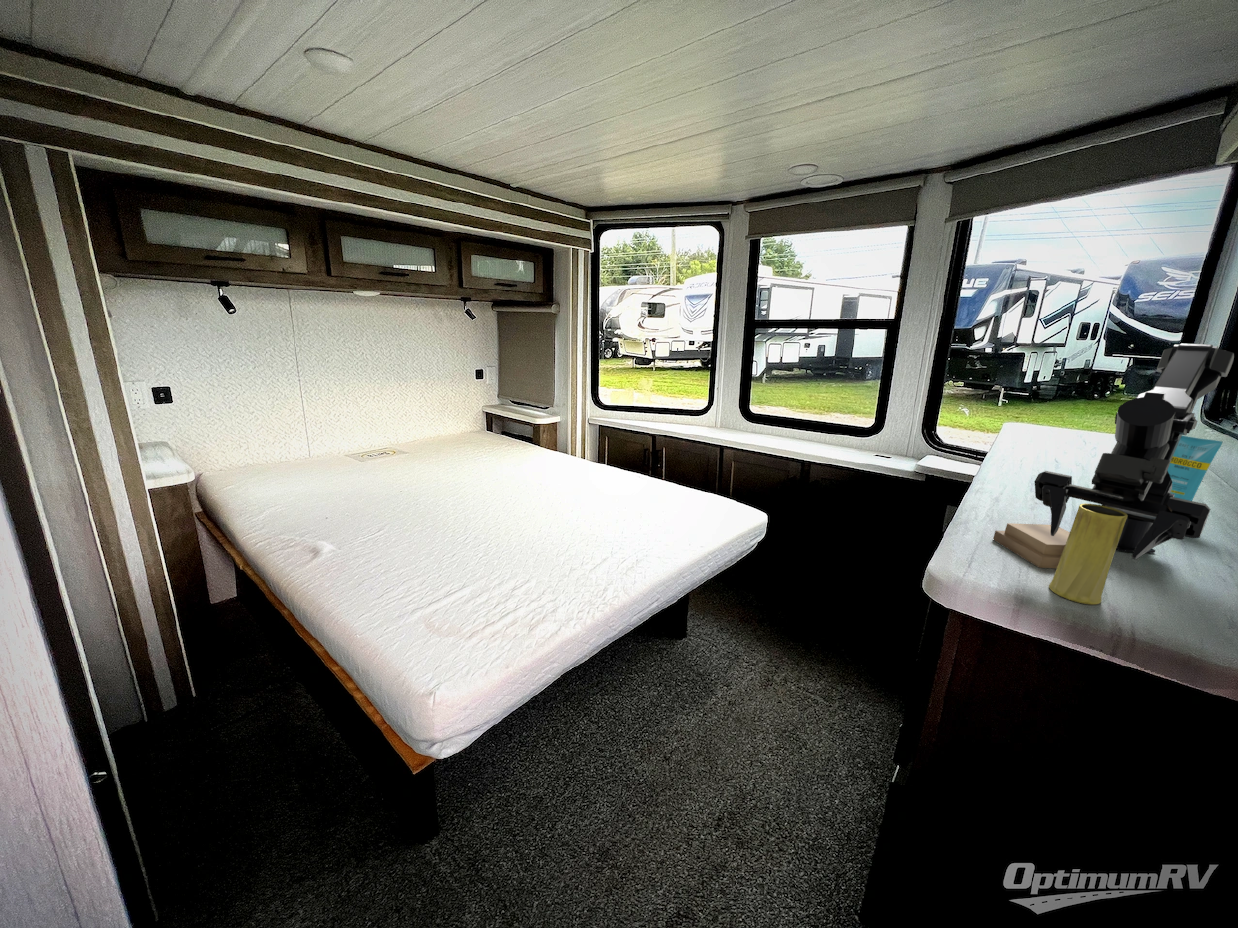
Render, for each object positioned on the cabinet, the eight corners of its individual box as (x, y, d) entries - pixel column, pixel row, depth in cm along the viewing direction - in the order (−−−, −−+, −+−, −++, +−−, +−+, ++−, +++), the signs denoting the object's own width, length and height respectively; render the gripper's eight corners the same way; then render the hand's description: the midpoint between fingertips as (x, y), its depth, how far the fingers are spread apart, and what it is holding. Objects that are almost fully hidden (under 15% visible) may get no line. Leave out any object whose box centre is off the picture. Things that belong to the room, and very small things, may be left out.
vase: (1038, 584, 78) (1064, 502, 73) (1072, 583, 78) (1100, 502, 74) (1075, 605, 72) (1106, 518, 68) (1112, 604, 72) (1145, 517, 68)
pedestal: (1049, 541, 94) (1055, 522, 92) (1102, 569, 83) (1110, 548, 82) (992, 539, 94) (998, 521, 92) (1039, 567, 83) (1045, 546, 82)
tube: (1136, 517, 108) (1166, 433, 102) (1147, 514, 109) (1177, 432, 104) (1183, 530, 101) (1218, 442, 95) (1193, 527, 103) (1229, 440, 97)
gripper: (1055, 423, 78) (1012, 498, 75) (1235, 449, 63) (1191, 543, 60) (1056, 462, 85) (1016, 533, 82) (1219, 494, 70) (1179, 581, 67)
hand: (1090, 545), depth 73 cm, fingers open, 9 cm apart
